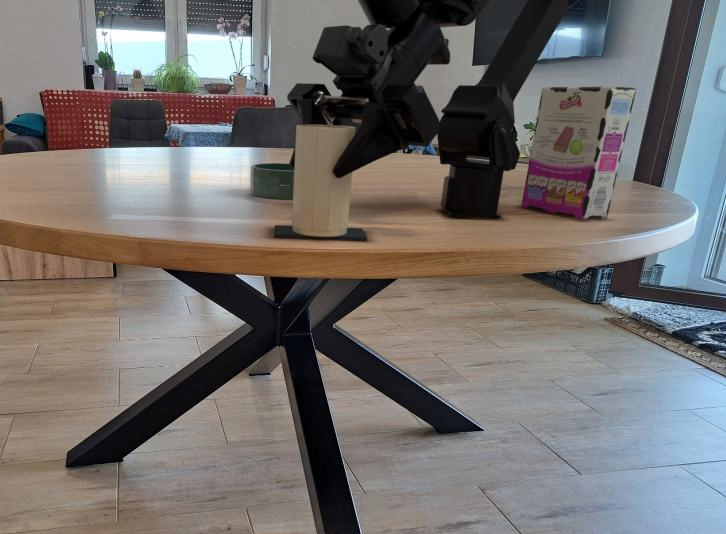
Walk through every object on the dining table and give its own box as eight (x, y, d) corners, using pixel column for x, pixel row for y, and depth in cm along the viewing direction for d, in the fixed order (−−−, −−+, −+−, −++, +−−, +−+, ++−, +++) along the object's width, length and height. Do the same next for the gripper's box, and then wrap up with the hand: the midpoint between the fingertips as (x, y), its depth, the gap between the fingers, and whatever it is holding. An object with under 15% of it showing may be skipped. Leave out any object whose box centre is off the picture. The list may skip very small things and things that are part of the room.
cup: (310, 223, 74) (315, 123, 70) (356, 230, 71) (365, 127, 67) (281, 231, 70) (285, 125, 66) (329, 239, 66) (337, 128, 62)
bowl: (316, 194, 98) (318, 164, 97) (319, 205, 89) (321, 172, 87) (252, 192, 98) (252, 162, 97) (248, 202, 89) (249, 169, 88)
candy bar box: (609, 219, 85) (639, 87, 79) (583, 221, 83) (612, 86, 77) (544, 205, 95) (566, 86, 89) (519, 207, 93) (540, 85, 87)
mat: (361, 231, 73) (362, 228, 73) (366, 241, 68) (367, 237, 68) (274, 228, 73) (274, 224, 73) (273, 237, 68) (273, 234, 68)
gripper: (304, 5, 71) (220, 109, 69) (436, -12, 57) (335, 118, 55) (350, 84, 78) (275, 180, 76) (477, 86, 64) (389, 204, 62)
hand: (312, 171), depth 67 cm, fingers open, 7 cm apart
